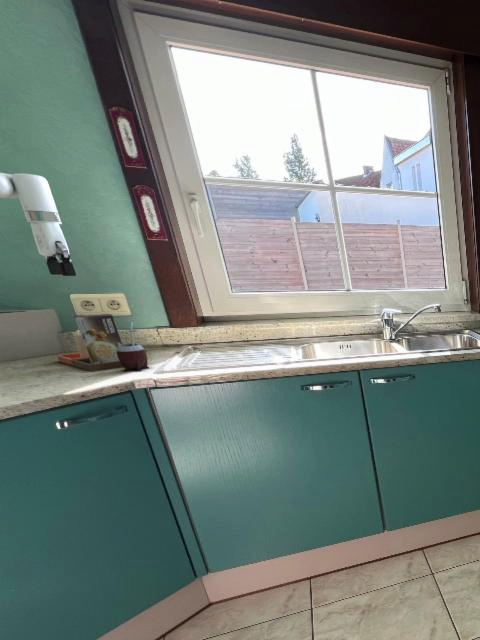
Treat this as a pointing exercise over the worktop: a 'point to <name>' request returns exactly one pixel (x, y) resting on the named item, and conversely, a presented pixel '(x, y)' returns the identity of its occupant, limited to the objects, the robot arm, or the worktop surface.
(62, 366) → the worktop surface
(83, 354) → the candle
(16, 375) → the worktop surface
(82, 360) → the walnut tray
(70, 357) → the terracotta tray
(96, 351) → the coffee box
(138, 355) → the mate gourd
